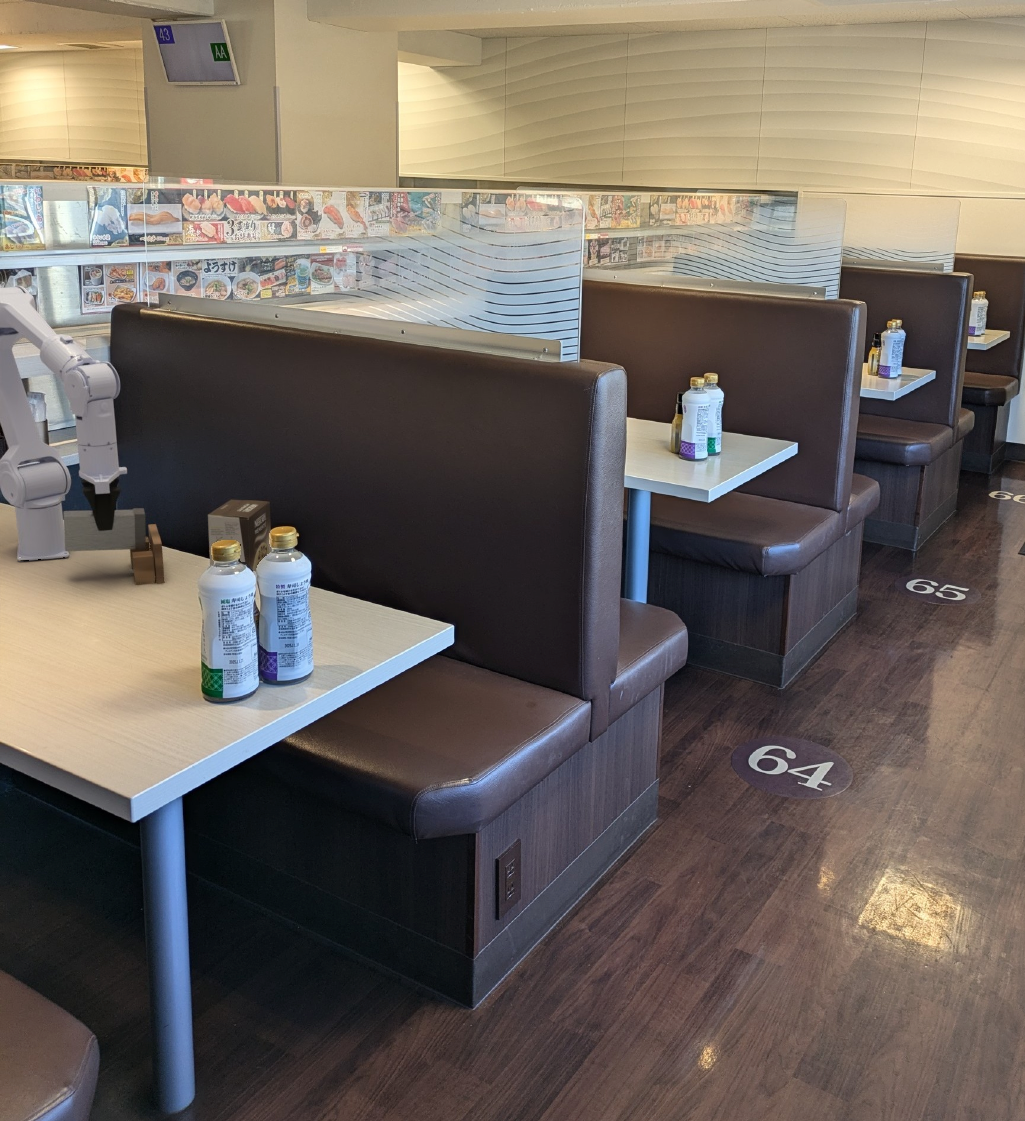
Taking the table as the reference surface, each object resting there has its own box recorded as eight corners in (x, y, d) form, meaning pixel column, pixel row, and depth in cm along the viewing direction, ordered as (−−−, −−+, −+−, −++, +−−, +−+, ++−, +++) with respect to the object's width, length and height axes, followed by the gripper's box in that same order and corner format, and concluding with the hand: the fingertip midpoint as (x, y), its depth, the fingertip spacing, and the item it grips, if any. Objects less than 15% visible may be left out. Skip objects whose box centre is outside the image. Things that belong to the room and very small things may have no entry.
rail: (64, 544, 178) (63, 509, 176) (144, 542, 183) (143, 508, 181) (65, 551, 175) (63, 515, 173) (145, 548, 179) (145, 514, 178)
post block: (130, 563, 187) (127, 526, 185) (158, 561, 188) (155, 524, 186) (135, 585, 177) (132, 546, 175) (164, 582, 179) (161, 543, 176)
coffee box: (253, 623, 164) (248, 517, 159) (211, 619, 165) (205, 514, 160) (275, 601, 172) (271, 500, 167) (235, 597, 173) (230, 497, 168)
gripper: (127, 451, 168) (134, 537, 173) (121, 431, 181) (128, 511, 186) (77, 454, 166) (85, 541, 170) (74, 433, 179) (82, 515, 183)
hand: (104, 526), depth 178 cm, fingers closed on rail, 3 cm apart
